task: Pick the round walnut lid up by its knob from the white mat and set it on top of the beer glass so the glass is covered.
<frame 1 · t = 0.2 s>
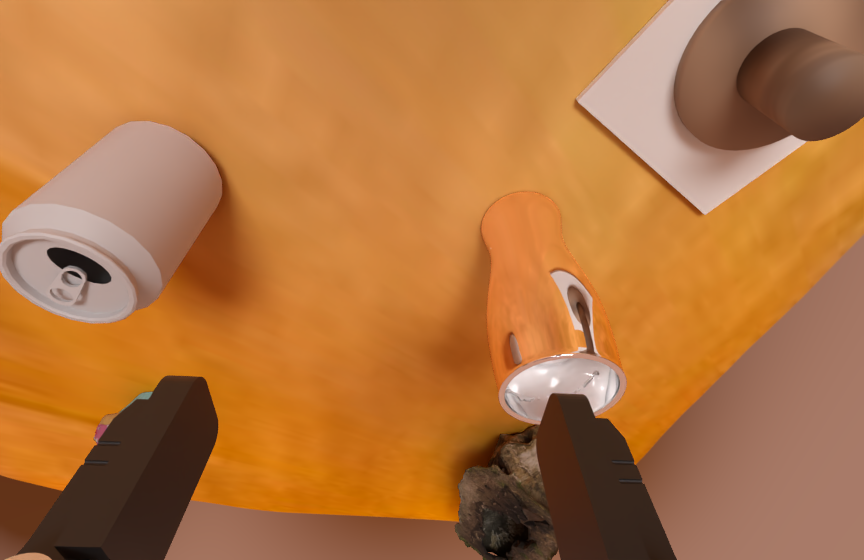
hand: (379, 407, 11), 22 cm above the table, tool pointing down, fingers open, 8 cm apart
can: (172, 166, 31), on the table
hollow geode rock: (503, 464, 62), on the table
white mat: (761, 59, 26), on the table
cupcake: (159, 400, 51), on the table
beer glass: (520, 223, 34), on the table
walnut lid: (797, 79, 23), on the white mat
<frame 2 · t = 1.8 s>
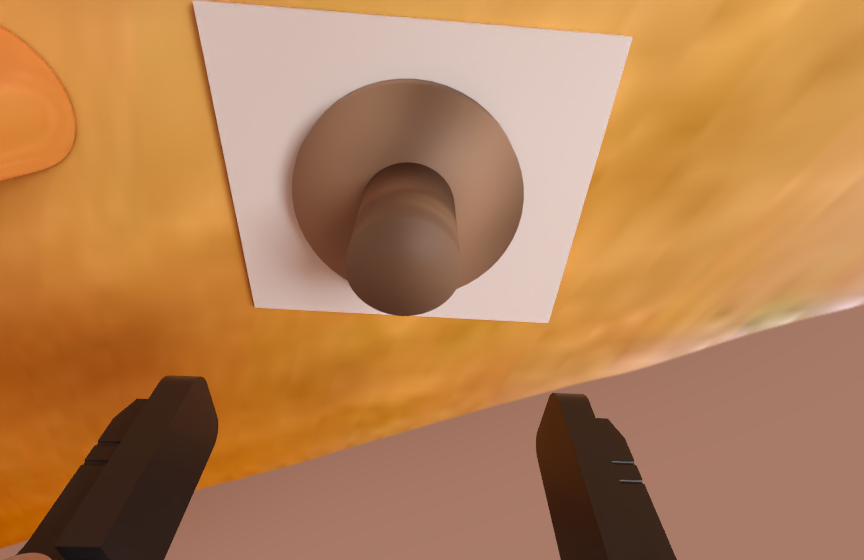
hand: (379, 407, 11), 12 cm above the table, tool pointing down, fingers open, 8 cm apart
white mat: (409, 192, 21), on the table
walnut lid: (406, 228, 18), on the white mat
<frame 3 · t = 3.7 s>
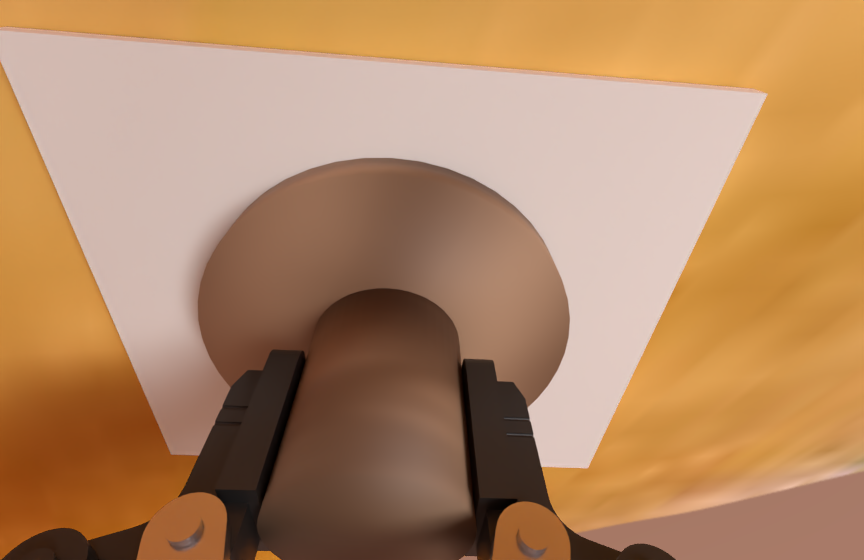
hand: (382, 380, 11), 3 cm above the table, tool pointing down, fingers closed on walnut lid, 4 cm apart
white mat: (389, 312, 14), on the table
walnut lid: (381, 404, 11), on the white mat, touching gripper
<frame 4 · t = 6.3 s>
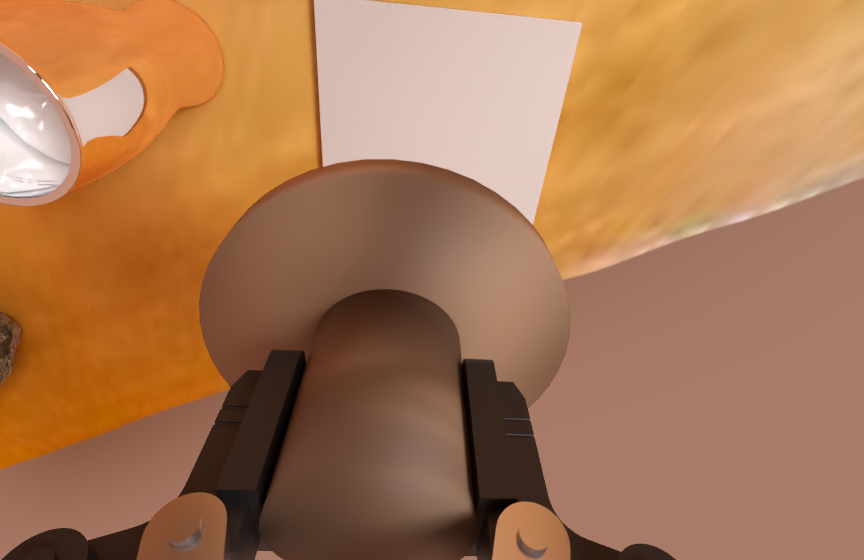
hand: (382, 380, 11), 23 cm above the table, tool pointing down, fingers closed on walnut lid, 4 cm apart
white mat: (438, 126, 31), on the table
beer glass: (175, 54, 28), on the table
walnut lid: (382, 405, 11), point 24 cm above the table, touching gripper
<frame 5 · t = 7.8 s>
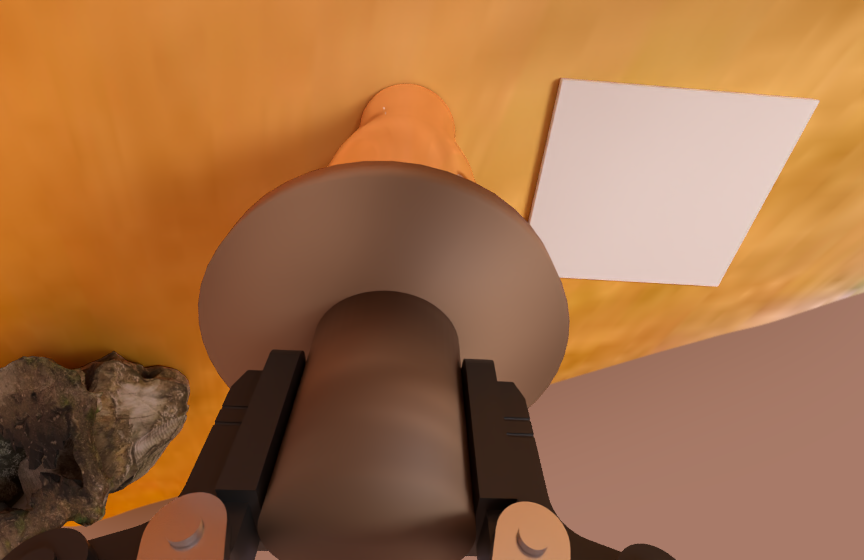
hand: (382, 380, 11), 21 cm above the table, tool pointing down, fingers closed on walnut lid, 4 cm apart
hollow geode rock: (72, 397, 43), on the table
white mat: (648, 194, 31), on the table
beer glass: (407, 132, 29), on the table
walnut lid: (381, 406, 11), point 22 cm above the table, touching gripper
when the fingers open (18 cm above the table, at t = 9.1 s): walnut lid stays where it is, resting on beer glass.
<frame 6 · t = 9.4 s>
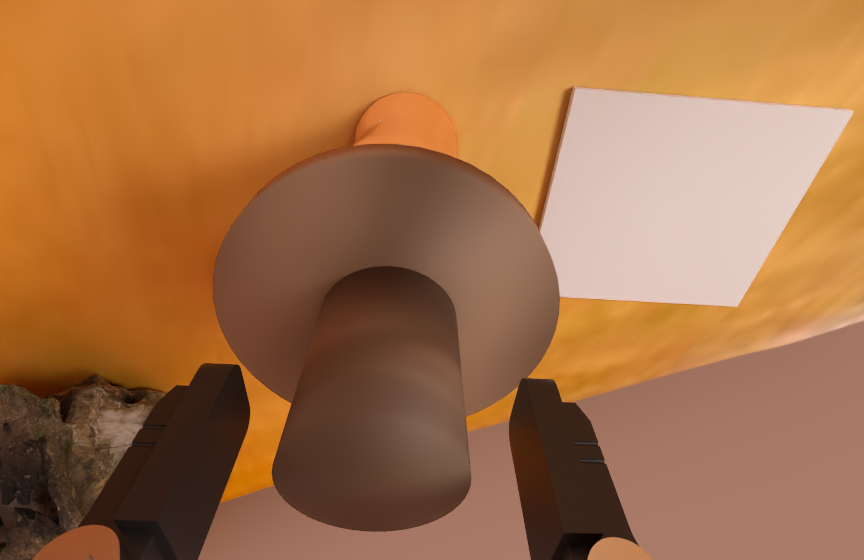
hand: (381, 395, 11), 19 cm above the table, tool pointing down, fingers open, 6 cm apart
hollow geode rock: (54, 420, 41), on the table
white mat: (665, 211, 29), on the table
beer glass: (406, 145, 26), on the table, touching walnut lid
walnut lid: (384, 372, 11), point 18 cm above the table, touching beer glass
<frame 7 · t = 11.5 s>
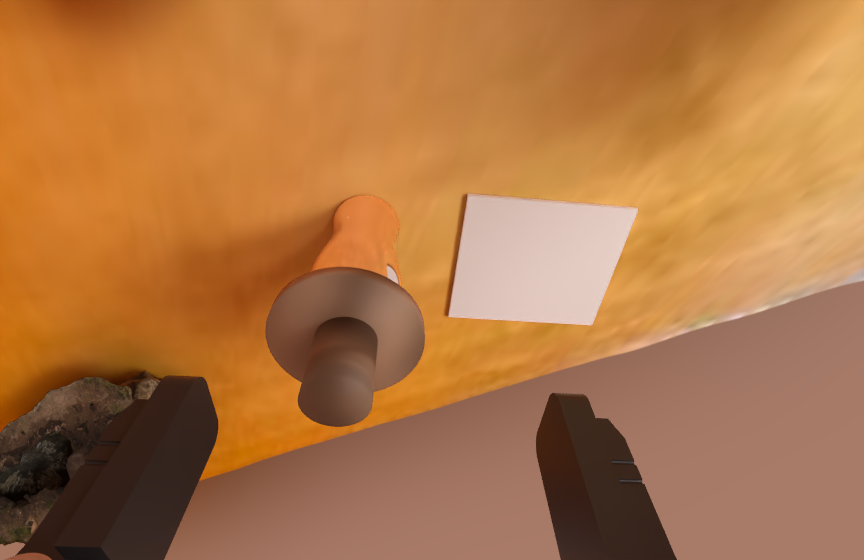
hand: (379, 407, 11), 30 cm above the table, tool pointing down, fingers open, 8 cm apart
hollow geode rock: (107, 406, 54), on the table
white mat: (535, 264, 45), on the table
beer glass: (366, 224, 42), on the table, touching walnut lid
walnut lid: (342, 363, 27), point 18 cm above the table, touching beer glass
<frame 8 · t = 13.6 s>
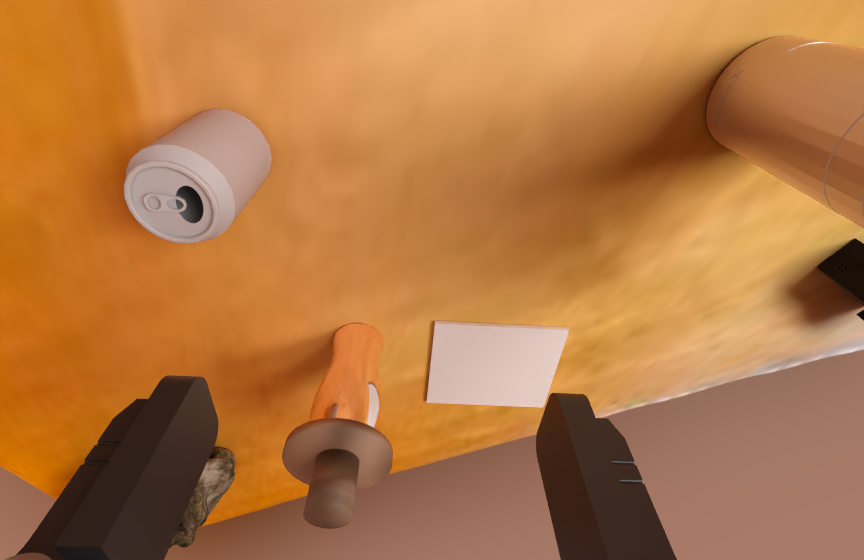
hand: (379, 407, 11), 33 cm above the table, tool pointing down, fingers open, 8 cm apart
can: (233, 148, 40), on the table
hollow geode rock: (161, 464, 68), on the table
white mat: (492, 365, 57), on the table
digital camera: (852, 276, 50), on the table
beer glass: (358, 340, 54), on the table, touching walnut lid
walnut lid: (334, 482, 39), point 18 cm above the table, touching beer glass
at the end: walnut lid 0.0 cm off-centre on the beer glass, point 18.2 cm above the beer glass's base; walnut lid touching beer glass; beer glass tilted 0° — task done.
